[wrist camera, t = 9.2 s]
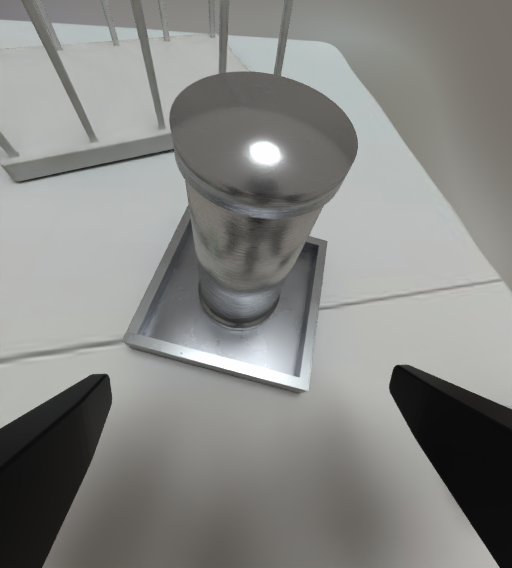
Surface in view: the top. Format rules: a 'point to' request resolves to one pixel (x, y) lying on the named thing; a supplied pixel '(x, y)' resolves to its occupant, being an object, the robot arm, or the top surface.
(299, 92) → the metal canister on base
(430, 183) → the top surface
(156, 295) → the flange tray
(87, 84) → the file sorter
